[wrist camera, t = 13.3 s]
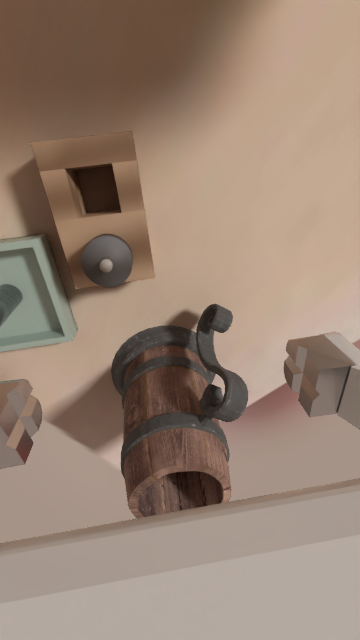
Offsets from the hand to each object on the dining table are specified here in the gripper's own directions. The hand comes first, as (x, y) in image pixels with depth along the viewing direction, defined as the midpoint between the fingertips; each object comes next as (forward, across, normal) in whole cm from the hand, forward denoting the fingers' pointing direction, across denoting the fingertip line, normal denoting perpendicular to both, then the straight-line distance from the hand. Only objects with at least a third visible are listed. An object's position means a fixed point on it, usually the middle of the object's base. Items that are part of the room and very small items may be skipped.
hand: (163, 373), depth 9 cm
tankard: (+28, -1, +21) cm, 35 cm away
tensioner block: (+28, +5, -1) cm, 29 cm away
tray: (+28, +19, +7) cm, 34 cm away
